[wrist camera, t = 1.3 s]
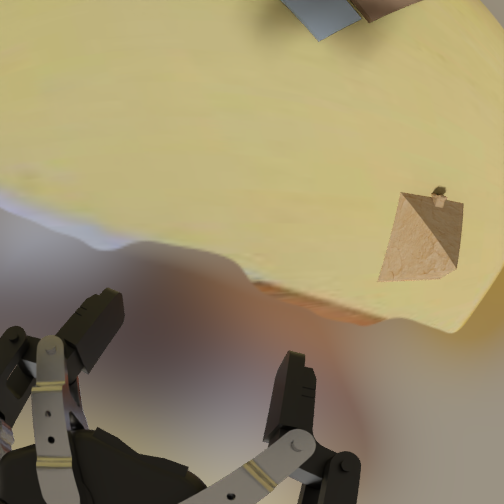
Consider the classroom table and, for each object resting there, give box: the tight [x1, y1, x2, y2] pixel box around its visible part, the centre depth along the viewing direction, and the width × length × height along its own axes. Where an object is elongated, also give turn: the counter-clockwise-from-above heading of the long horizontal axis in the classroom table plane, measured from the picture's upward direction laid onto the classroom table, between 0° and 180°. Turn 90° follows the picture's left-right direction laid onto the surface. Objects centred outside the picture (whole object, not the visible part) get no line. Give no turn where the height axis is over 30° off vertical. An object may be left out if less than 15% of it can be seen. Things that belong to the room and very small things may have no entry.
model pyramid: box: [377, 193, 464, 282], centre depth 38 cm, size 17×17×10 cm
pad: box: [281, 0, 362, 42], centre depth 25 cm, size 8×8×1 cm
